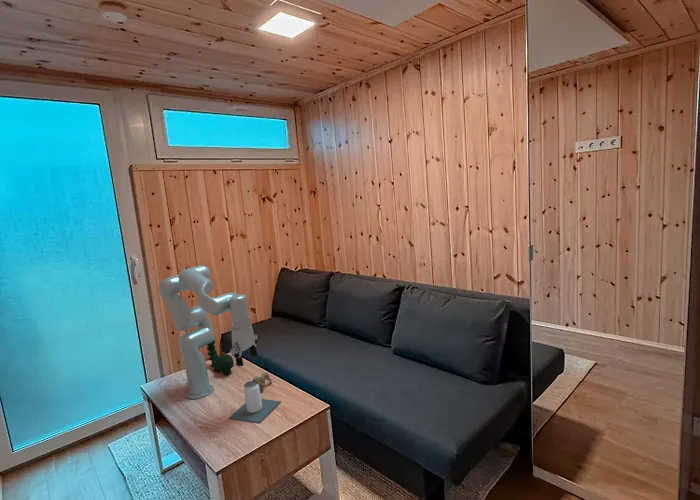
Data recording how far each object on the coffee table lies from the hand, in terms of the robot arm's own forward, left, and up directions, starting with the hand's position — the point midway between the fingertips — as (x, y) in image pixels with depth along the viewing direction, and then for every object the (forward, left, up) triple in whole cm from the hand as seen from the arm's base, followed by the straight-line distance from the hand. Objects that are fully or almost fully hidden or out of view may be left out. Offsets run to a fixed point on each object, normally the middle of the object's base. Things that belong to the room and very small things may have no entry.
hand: (247, 360), depth 166 cm
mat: (+2, -2, -23) cm, 23 cm away
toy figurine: (-42, +28, -23) cm, 56 cm away
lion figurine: (-6, +15, -23) cm, 28 cm away
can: (+1, -2, -22) cm, 22 cm away
